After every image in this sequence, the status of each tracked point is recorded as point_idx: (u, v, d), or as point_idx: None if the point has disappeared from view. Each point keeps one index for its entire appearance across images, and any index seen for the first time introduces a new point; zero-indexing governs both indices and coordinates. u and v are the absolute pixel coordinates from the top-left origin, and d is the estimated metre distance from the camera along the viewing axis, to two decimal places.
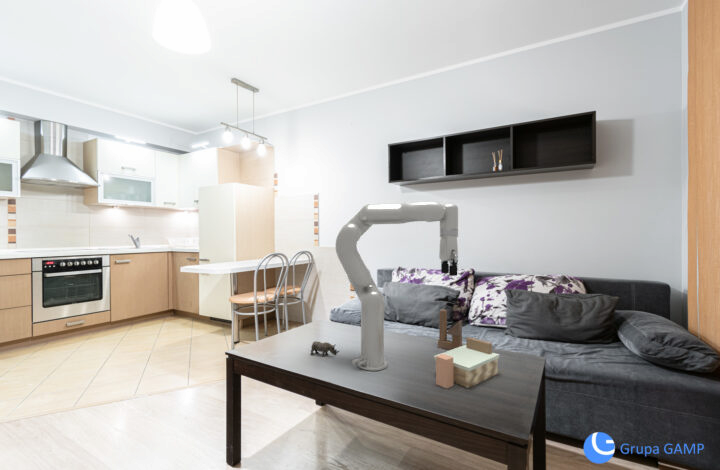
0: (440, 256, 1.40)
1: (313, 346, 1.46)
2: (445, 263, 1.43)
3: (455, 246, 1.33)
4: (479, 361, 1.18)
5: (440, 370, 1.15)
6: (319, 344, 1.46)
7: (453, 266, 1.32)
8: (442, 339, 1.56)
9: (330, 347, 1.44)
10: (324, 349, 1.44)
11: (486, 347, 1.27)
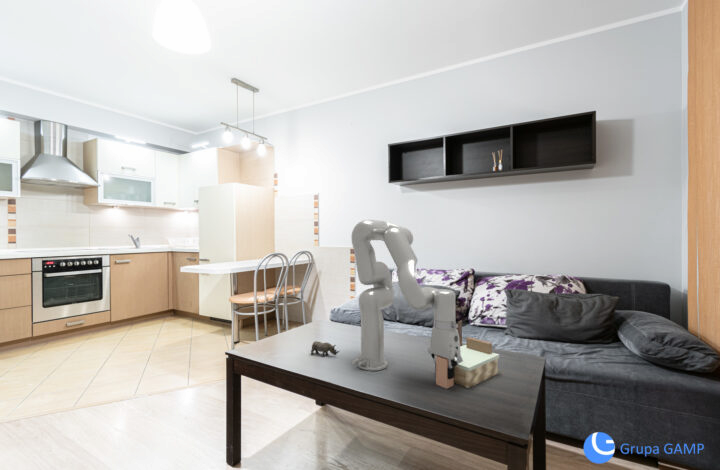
0: None
1: (313, 346, 1.46)
2: None
3: None
4: (479, 361, 1.18)
5: (440, 370, 1.15)
6: (319, 344, 1.45)
7: None
8: None
9: (330, 347, 1.44)
10: (324, 349, 1.44)
11: (486, 347, 1.27)
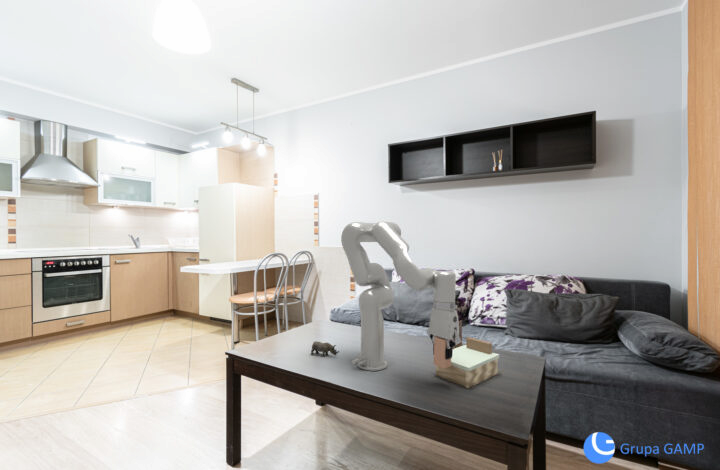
0: None
1: (313, 346, 1.46)
2: None
3: None
4: (479, 361, 1.18)
5: (438, 350, 1.16)
6: (319, 344, 1.45)
7: None
8: None
9: (330, 347, 1.44)
10: (324, 349, 1.44)
11: (486, 347, 1.27)
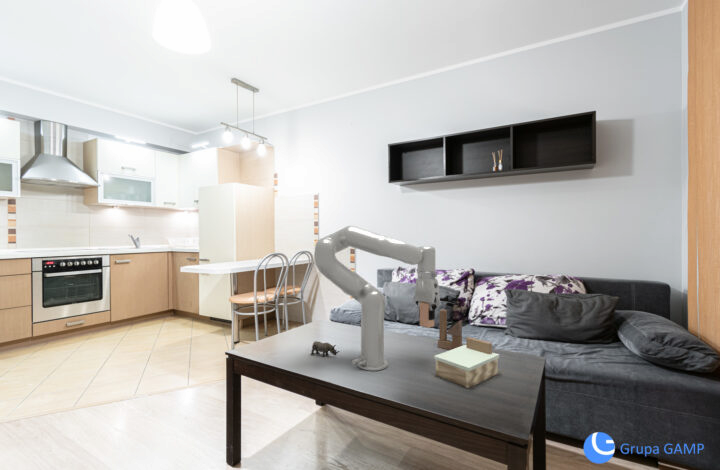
0: None
1: (313, 346, 1.46)
2: None
3: None
4: (479, 361, 1.18)
5: (423, 313, 1.37)
6: (319, 344, 1.45)
7: None
8: (442, 339, 1.56)
9: (330, 347, 1.44)
10: (324, 349, 1.44)
11: (486, 347, 1.27)
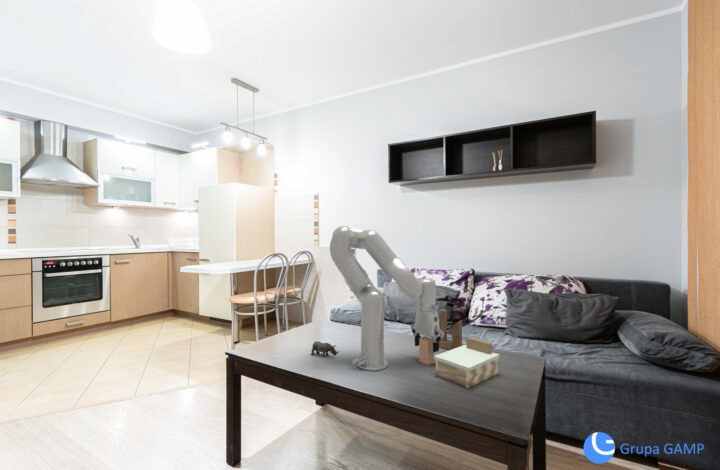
0: None
1: (313, 346, 1.46)
2: None
3: None
4: (479, 361, 1.18)
5: (422, 349, 1.37)
6: (319, 344, 1.45)
7: None
8: (442, 339, 1.56)
9: (330, 347, 1.43)
10: (324, 349, 1.44)
11: (486, 347, 1.27)
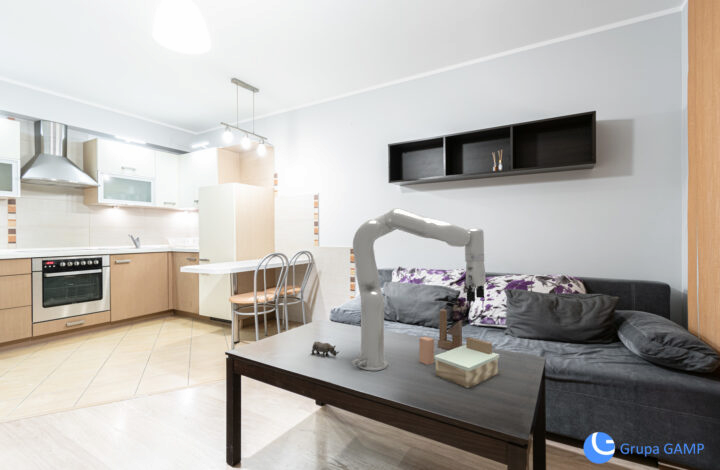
0: (479, 282, 1.32)
1: (314, 346, 1.46)
2: None
3: None
4: (479, 361, 1.18)
5: (422, 349, 1.37)
6: (319, 345, 1.45)
7: None
8: (442, 339, 1.56)
9: (330, 348, 1.43)
10: (324, 349, 1.43)
11: (486, 347, 1.27)
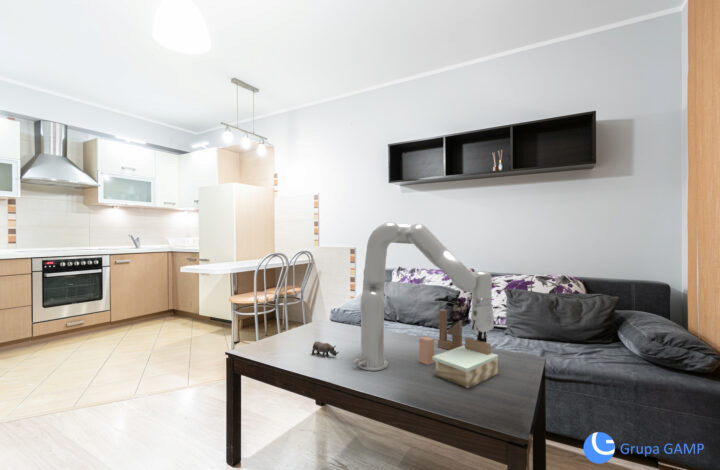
0: (484, 328, 1.28)
1: (314, 346, 1.46)
2: None
3: None
4: (478, 362, 1.18)
5: (422, 349, 1.37)
6: (319, 345, 1.45)
7: None
8: (442, 339, 1.56)
9: (330, 348, 1.43)
10: (324, 350, 1.43)
11: (484, 347, 1.27)
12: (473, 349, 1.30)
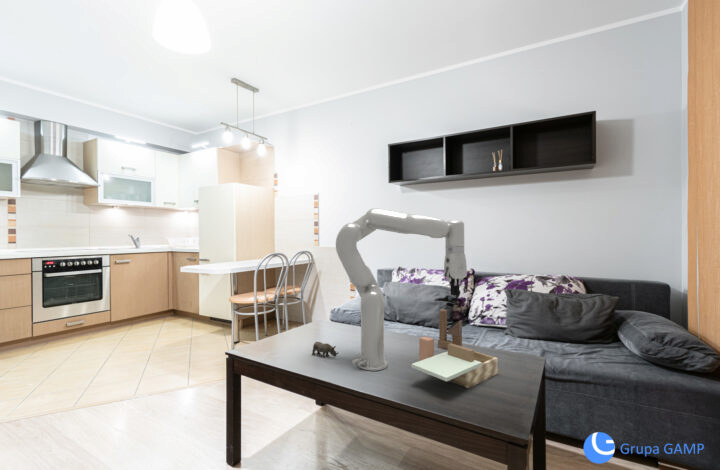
0: (456, 275, 1.31)
1: (314, 346, 1.46)
2: None
3: None
4: (459, 370, 1.10)
5: (422, 349, 1.37)
6: (319, 345, 1.45)
7: None
8: (442, 339, 1.56)
9: (330, 348, 1.43)
10: (324, 350, 1.43)
11: (467, 354, 1.19)
12: (456, 356, 1.23)
